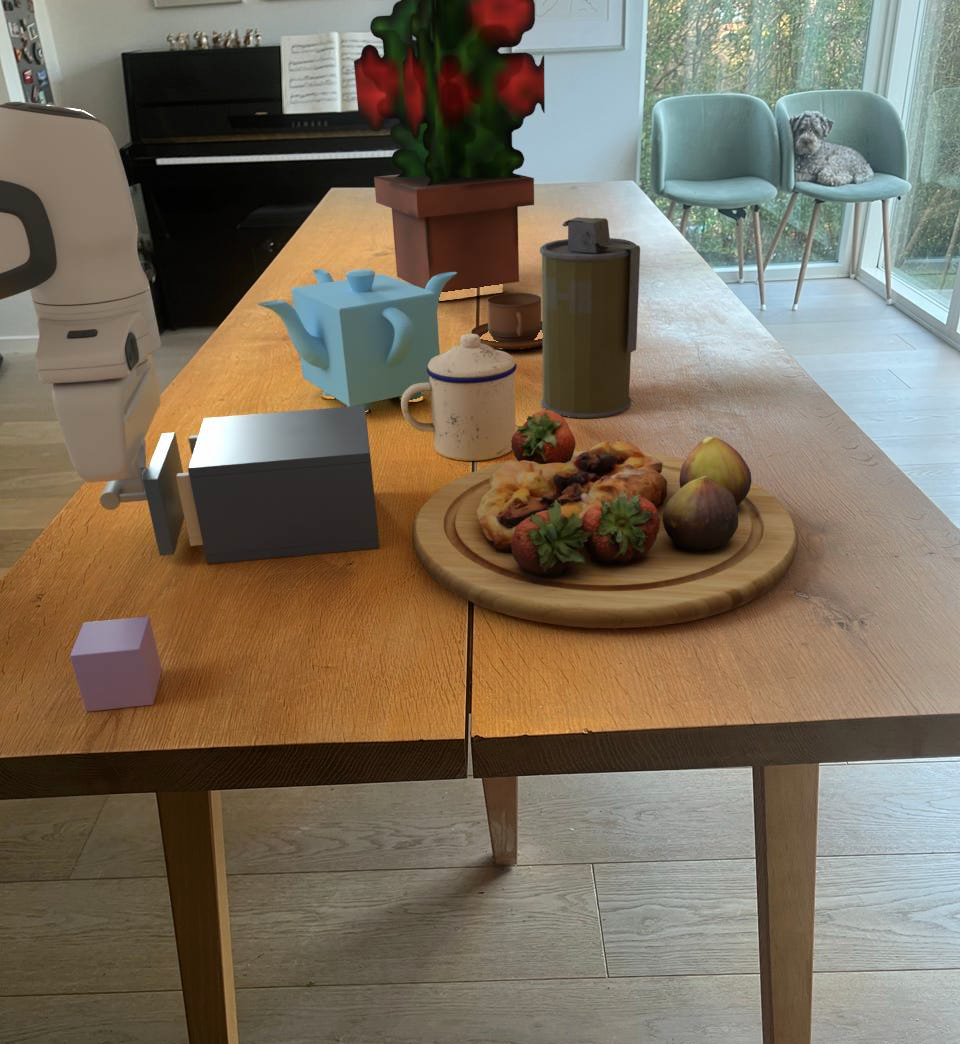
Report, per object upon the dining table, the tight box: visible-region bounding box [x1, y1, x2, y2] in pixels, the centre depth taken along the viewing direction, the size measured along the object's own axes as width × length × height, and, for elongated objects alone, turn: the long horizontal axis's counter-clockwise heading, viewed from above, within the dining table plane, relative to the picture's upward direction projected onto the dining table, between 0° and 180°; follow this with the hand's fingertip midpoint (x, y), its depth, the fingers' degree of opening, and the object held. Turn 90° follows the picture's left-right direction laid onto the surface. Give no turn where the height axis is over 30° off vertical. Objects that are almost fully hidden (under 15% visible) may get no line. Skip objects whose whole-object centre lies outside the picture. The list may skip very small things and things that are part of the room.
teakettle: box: [257, 268, 457, 411], centre depth 120 cm, size 19×19×15 cm
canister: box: [539, 216, 641, 419], centre depth 113 cm, size 11×10×20 cm
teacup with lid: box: [400, 333, 518, 462], centre depth 104 cm, size 12×9×12 cm
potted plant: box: [353, 0, 546, 292], centre depth 160 cm, size 22×22×45 cm
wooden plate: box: [411, 409, 799, 629], centre depth 85 cm, size 32×32×8 cm
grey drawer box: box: [187, 405, 380, 565], centre depth 90 cm, size 15×13×9 cm
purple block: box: [69, 616, 163, 713], centre depth 69 cm, size 4×4×4 cm
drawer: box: [99, 432, 203, 557], centre depth 89 cm, size 18×11×7 cm, turn 98°
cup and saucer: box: [470, 292, 543, 350], centre depth 140 cm, size 12×12×6 cm
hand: (137, 491), depth 88 cm, fingers closed, pressing on drawer
